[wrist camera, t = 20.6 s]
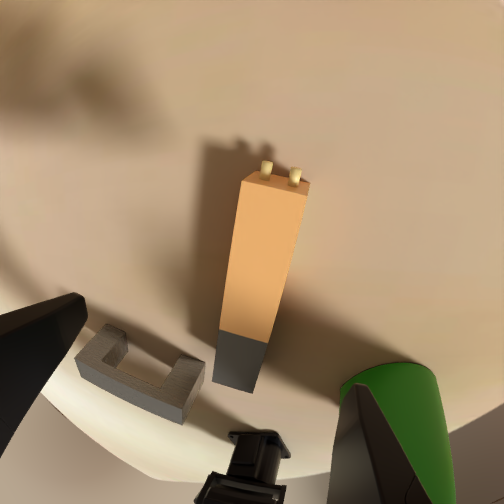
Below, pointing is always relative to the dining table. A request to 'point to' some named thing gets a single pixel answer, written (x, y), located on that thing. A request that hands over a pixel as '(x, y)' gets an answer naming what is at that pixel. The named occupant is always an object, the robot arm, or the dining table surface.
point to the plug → (257, 272)
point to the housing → (132, 389)
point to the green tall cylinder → (414, 422)
